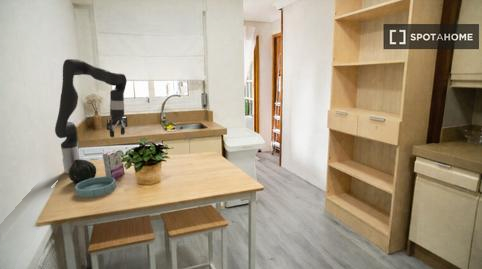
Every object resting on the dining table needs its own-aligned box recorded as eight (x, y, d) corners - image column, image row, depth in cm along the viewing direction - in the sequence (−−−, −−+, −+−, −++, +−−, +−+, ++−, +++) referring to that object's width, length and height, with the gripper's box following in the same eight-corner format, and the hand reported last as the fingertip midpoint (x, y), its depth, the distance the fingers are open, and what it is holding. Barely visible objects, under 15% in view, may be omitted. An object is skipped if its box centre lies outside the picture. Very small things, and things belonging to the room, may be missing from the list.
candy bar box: (118, 173, 190) (115, 149, 186) (125, 174, 188) (121, 149, 185) (105, 179, 180) (102, 154, 176) (112, 180, 178) (108, 154, 174)
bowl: (68, 194, 160) (66, 187, 159) (98, 181, 178) (98, 174, 177) (93, 200, 152) (92, 192, 151) (123, 185, 169) (122, 179, 169)
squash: (104, 167, 185) (85, 151, 182) (94, 177, 171) (73, 159, 167) (90, 182, 187) (71, 166, 184) (78, 192, 173) (57, 175, 170)
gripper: (120, 106, 176) (120, 132, 180) (102, 108, 163) (103, 137, 166) (130, 107, 174) (131, 134, 177) (113, 110, 161) (113, 138, 164)
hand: (117, 135), depth 172 cm, fingers open, 8 cm apart
